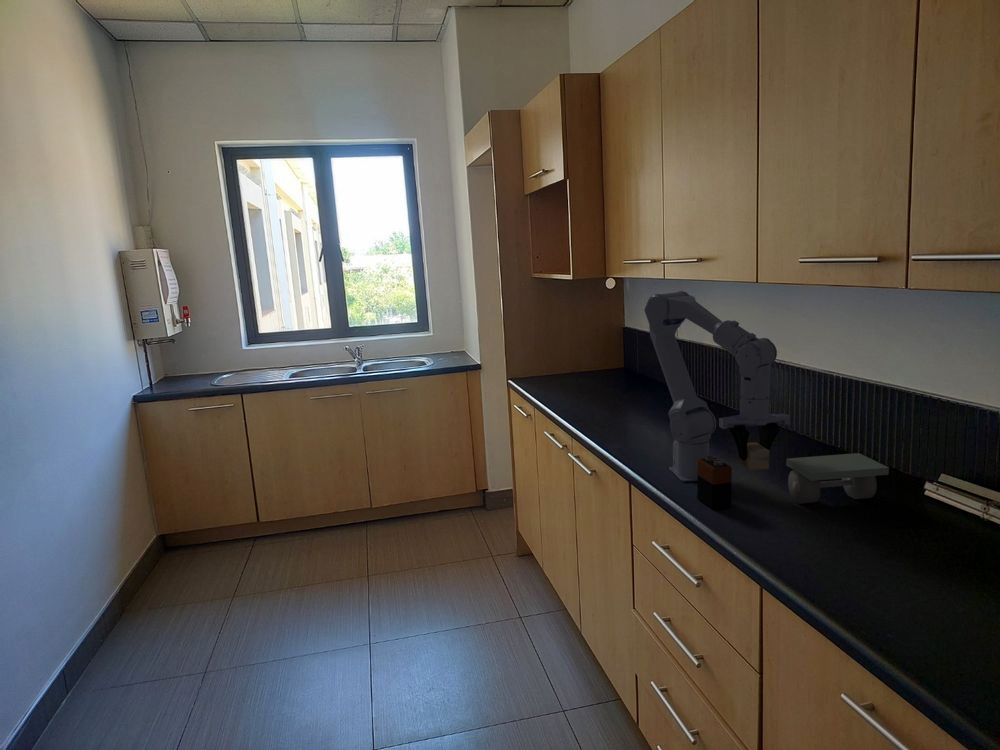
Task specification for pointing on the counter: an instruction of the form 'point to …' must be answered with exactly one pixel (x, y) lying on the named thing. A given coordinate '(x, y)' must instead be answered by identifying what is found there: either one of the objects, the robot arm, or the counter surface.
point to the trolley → (833, 476)
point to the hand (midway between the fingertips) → (752, 458)
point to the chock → (756, 457)
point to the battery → (714, 482)
